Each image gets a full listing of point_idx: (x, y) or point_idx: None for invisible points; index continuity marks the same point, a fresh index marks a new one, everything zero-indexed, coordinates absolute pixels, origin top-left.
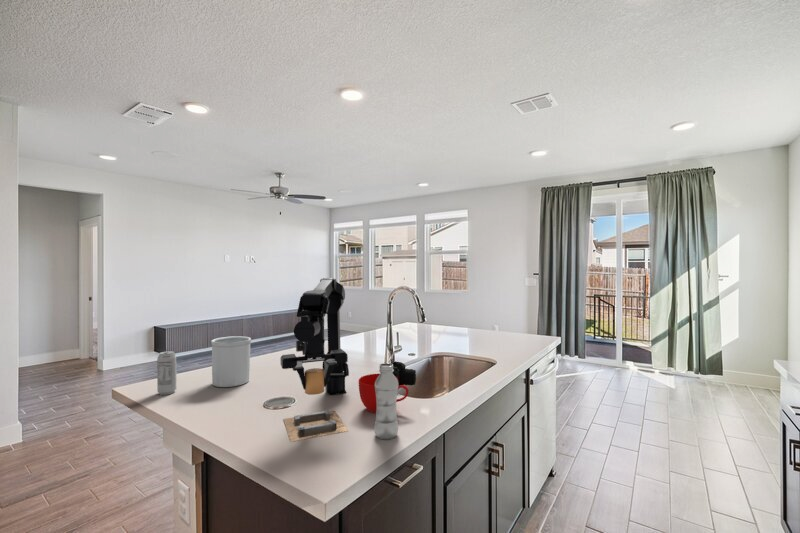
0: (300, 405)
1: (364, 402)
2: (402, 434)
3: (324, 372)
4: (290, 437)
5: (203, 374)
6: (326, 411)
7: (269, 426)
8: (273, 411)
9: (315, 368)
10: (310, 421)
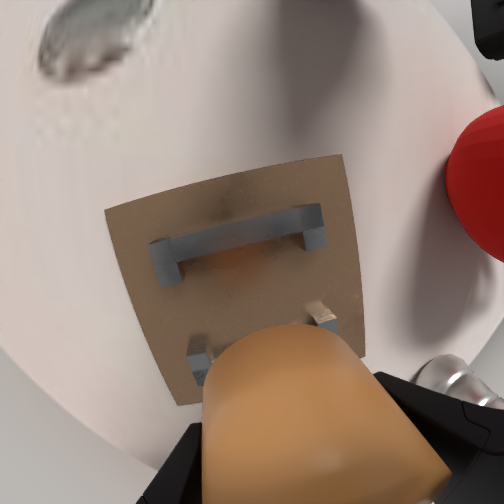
0: (174, 43)
1: (463, 214)
2: (458, 356)
3: (444, 443)
4: (170, 382)
5: None
6: (311, 215)
7: (68, 259)
8: (64, 103)
9: (386, 491)
10: (230, 260)
